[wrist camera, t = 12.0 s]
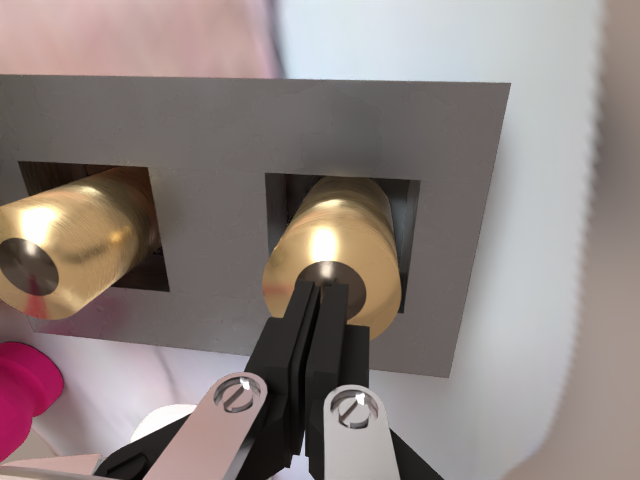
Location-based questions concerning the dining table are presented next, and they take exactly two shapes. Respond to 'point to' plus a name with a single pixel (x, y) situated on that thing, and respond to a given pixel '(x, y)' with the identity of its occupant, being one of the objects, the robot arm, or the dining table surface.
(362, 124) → the jig
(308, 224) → the bushing
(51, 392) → the pepper mill
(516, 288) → the dining table surface
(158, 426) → the decorative container
